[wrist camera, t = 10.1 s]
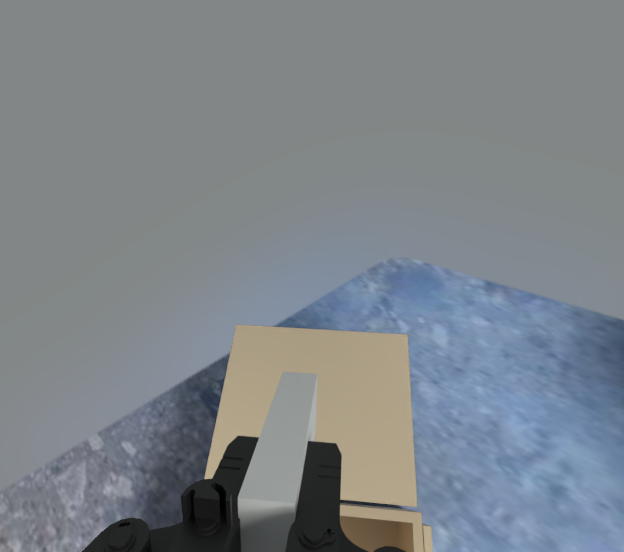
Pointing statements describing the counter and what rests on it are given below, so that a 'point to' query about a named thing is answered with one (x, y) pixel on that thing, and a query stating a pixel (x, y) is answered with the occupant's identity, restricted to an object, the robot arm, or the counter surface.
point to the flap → (329, 402)
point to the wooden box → (385, 528)
